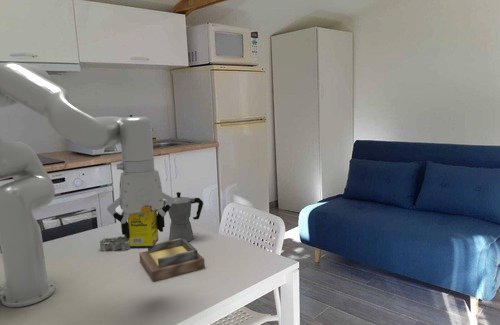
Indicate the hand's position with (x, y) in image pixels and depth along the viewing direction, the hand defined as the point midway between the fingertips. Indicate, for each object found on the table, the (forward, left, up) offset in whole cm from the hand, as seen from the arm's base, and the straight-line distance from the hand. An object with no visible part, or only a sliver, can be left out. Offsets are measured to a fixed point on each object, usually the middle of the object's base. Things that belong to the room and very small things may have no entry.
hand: (143, 233), depth 96 cm
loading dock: (+11, +16, -18) cm, 26 cm away
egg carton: (-1, +41, -18) cm, 45 cm away
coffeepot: (+22, +35, -18) cm, 45 cm away
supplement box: (0, 0, -3) cm, 3 cm away
